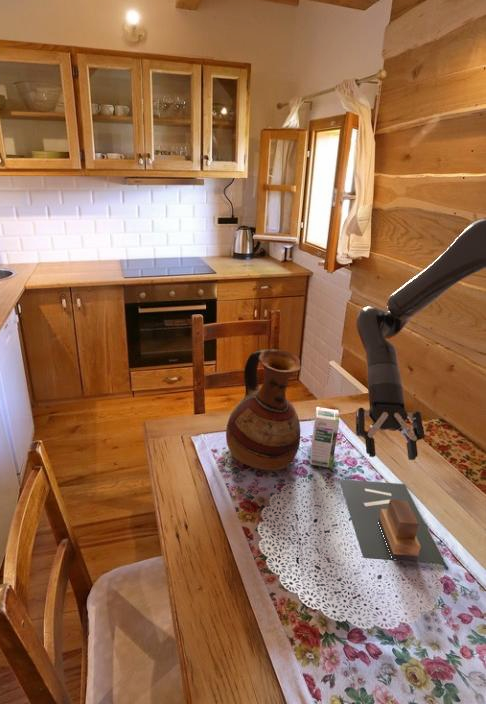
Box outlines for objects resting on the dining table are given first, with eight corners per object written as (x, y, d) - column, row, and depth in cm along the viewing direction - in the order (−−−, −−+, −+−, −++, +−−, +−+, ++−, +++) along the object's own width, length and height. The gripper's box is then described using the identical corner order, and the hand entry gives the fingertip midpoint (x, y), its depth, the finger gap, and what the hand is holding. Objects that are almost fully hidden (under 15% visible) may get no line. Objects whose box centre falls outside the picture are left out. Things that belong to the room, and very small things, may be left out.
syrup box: (309, 464, 107) (316, 417, 102) (310, 451, 112) (316, 405, 107) (331, 469, 105) (339, 421, 100) (331, 454, 111) (338, 408, 106)
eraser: (400, 524, 88) (407, 495, 85) (416, 561, 80) (425, 530, 77) (377, 523, 88) (384, 493, 86) (392, 559, 80) (399, 528, 77)
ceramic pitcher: (261, 490, 97) (271, 379, 87) (209, 447, 112) (213, 348, 102) (313, 458, 109) (327, 357, 99) (260, 423, 124) (267, 332, 113)
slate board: (403, 486, 100) (404, 484, 100) (445, 567, 80) (446, 564, 79) (338, 481, 101) (339, 479, 101) (362, 560, 80) (363, 557, 80)
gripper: (358, 379, 92) (364, 453, 85) (422, 383, 92) (433, 458, 85) (349, 388, 99) (354, 457, 92) (409, 392, 98) (418, 462, 92)
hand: (392, 458), depth 88 cm, fingers open, 8 cm apart
